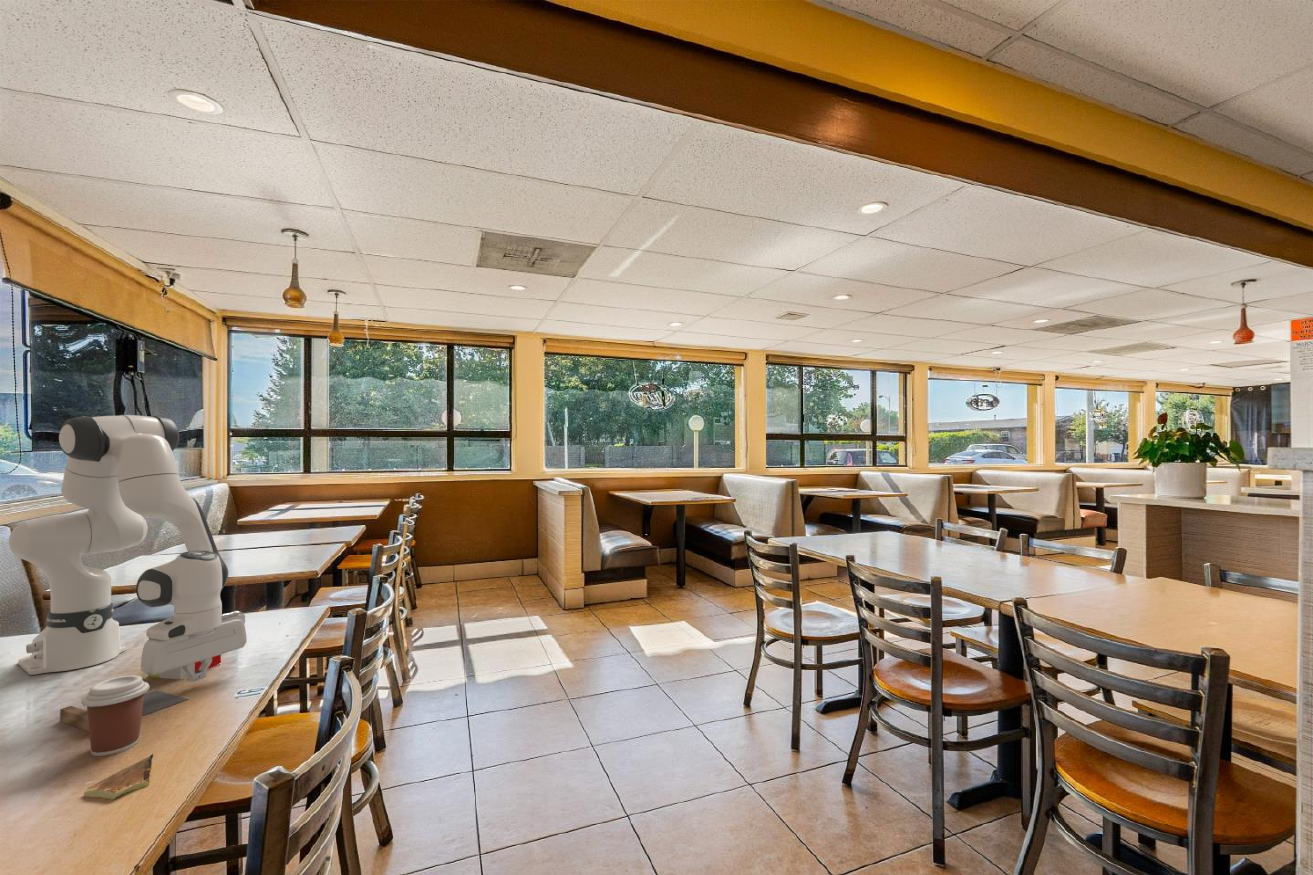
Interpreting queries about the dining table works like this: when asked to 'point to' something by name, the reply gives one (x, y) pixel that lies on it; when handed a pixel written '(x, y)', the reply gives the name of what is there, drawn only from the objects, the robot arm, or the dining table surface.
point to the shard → (123, 780)
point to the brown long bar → (75, 717)
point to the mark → (159, 701)
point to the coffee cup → (115, 713)
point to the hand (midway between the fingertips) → (196, 679)
